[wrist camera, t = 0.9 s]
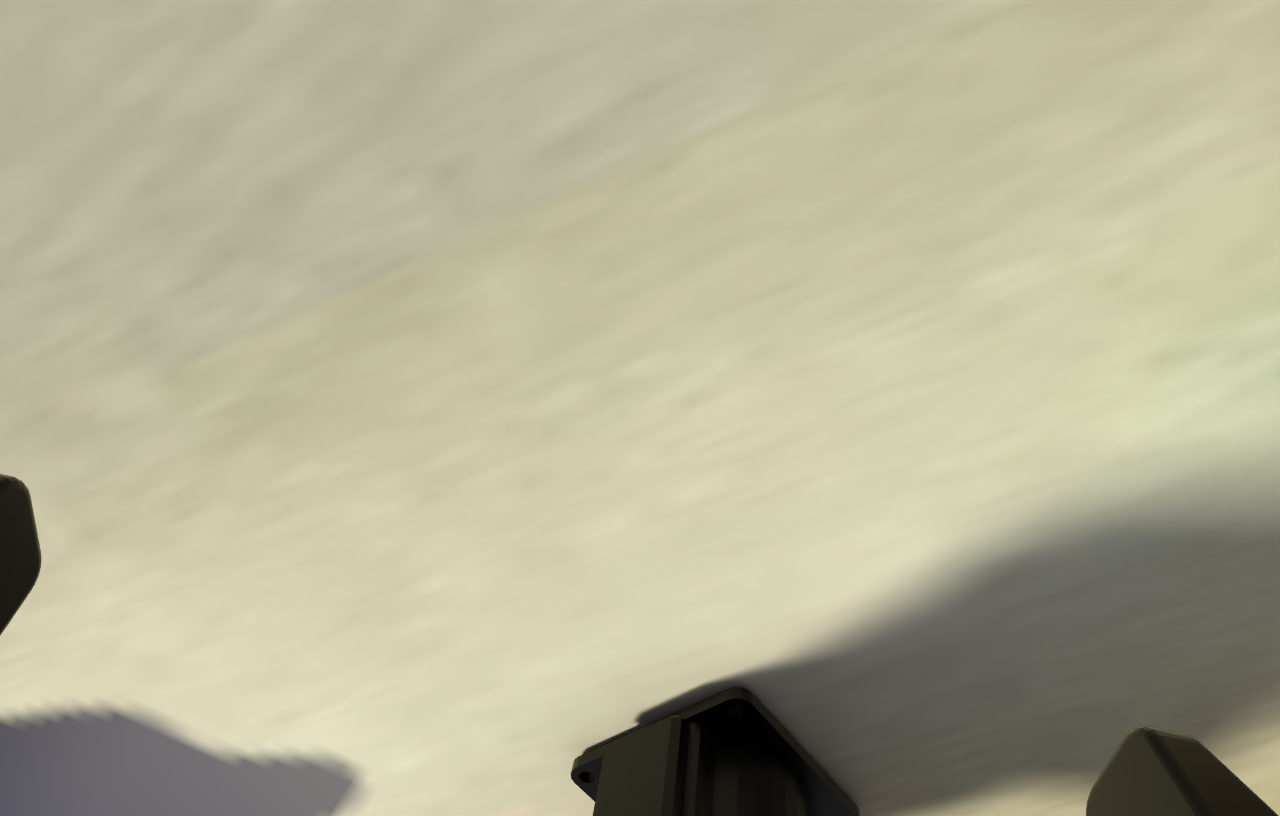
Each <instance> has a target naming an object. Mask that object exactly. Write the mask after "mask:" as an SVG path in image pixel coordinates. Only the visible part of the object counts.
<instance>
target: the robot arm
mask: <svg viewBox="0 0 1280 816" xmlns="http://www.w3.org/2000/svg"><path fill="white" fill-rule="evenodd" d="M40 568H41V550H40V545H39V540H38V534H37V529H36V523H35V518H34V513H33V507H32V502H31V497H30V493H29V490H28V488H27V487H26V486H25V484H24V483H23V482H22V481H21V480H19V479H17V478H15V477H12V476H7V475H3V474H0V635H1V634H2V632H3V631H4V630H5V628H6V627H7V625H8V624H9V622H10V621H11V619H12V618H13V616H14V615H15V613H16V612H17V610H18V609H19V608H20V606H21V605H22V603H23V602H24V600H25V599H26V597H27V596H28V594H29V593H30V591H31V590H32V588H33V586H34V585H35V582H36V580H37V578H38V575H39V572H40ZM734 705H742V706H740V707H738V706H734ZM571 779H572V780H573V781H574V783H575V784H576V785H578V786H579V787H580V788H581V789H582V790H583V791H584V792H585V793H586V794H587V795H588V796H589V797H591V798H592V799H593V800H594V801H595V806H594V812H593V816H860V811H859V809H858V807H857V806H856V805H855V804H854V803H853V802H852V801H851V800H850V798H849V797H848V796H847V795H846V794H845V793H844V792H843V791H842V790H841V789H840V788H839V787H838V785H837V784H836V783H835V782H834V781H833V780H832V779H831V778H830V777H829V776H828V775H827V774H826V772H825V771H824V770H823V769H822V768H821V767H820V766H819V765H818V764H817V763H816V762H815V761H814V759H813V758H812V757H811V756H810V755H809V754H808V753H807V752H806V751H805V750H804V749H803V748H802V746H801V745H800V744H799V743H798V742H797V741H796V740H795V739H794V738H793V737H792V736H791V734H790V733H789V732H788V731H787V730H786V729H785V728H784V727H783V726H782V725H781V724H780V723H779V721H778V720H777V719H776V718H775V717H774V716H773V715H772V714H771V713H770V712H769V711H768V710H767V708H766V707H765V706H764V705H763V704H762V703H761V702H760V701H759V700H758V699H757V698H756V697H755V695H754V694H753V693H751V692H750V691H749V690H747V689H744V688H736V687H734V688H730V689H727V690H725V691H723V692H720V693H718V694H716V695H714V696H711V697H709V698H707V699H705V700H703V701H700V702H698V703H696V704H694V705H692V706H689V707H687V708H685V709H683V710H681V711H678V712H676V713H674V714H672V715H669V716H667V717H665V718H663V719H661V720H658V721H656V722H654V723H652V724H650V725H647V726H645V727H643V728H641V729H638V730H636V731H634V732H632V733H630V734H627V735H625V736H623V737H621V738H619V739H616V740H614V741H612V742H610V743H608V744H605V745H603V746H601V747H599V748H596V749H594V750H592V751H590V752H588V753H585V754H583V755H581V756H579V757H577V758H576V759H575V760H574V762H573V766H572V771H571ZM1086 816H1278V815H1277V814H1276V813H1275V812H1274V811H1273V810H1272V809H1271V808H1270V807H1269V806H1268V805H1267V804H1265V803H1264V802H1263V801H1262V800H1261V799H1260V798H1259V797H1258V796H1257V795H1256V794H1255V793H1254V792H1253V791H1252V790H1250V789H1249V788H1248V787H1247V786H1246V785H1245V784H1244V783H1243V782H1242V781H1241V780H1240V779H1239V778H1238V777H1237V776H1235V775H1234V774H1233V773H1232V772H1231V771H1230V770H1229V769H1228V768H1227V767H1226V766H1225V765H1224V764H1223V763H1221V762H1220V761H1219V760H1218V759H1217V758H1216V757H1215V756H1214V755H1213V754H1212V753H1211V752H1210V751H1209V750H1208V749H1206V748H1205V747H1204V746H1203V745H1202V744H1201V743H1200V742H1199V741H1197V740H1196V739H1194V738H1192V737H1190V736H1188V735H1185V734H1181V733H1177V732H1172V731H1168V730H1163V729H1159V728H1154V727H1149V726H1139V727H1137V728H1135V729H1133V730H1131V731H1130V732H1129V733H1128V734H1127V735H1126V737H1125V738H1124V740H1123V741H1122V743H1121V744H1120V746H1119V747H1118V749H1117V750H1116V752H1115V753H1114V755H1113V756H1112V758H1111V760H1110V761H1109V763H1108V764H1107V766H1106V767H1105V769H1104V770H1103V772H1102V773H1101V775H1100V776H1099V778H1098V780H1097V781H1096V783H1095V784H1094V786H1093V787H1092V790H1091V792H1090V795H1089V798H1088V802H1087V808H1086Z"/></svg>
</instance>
